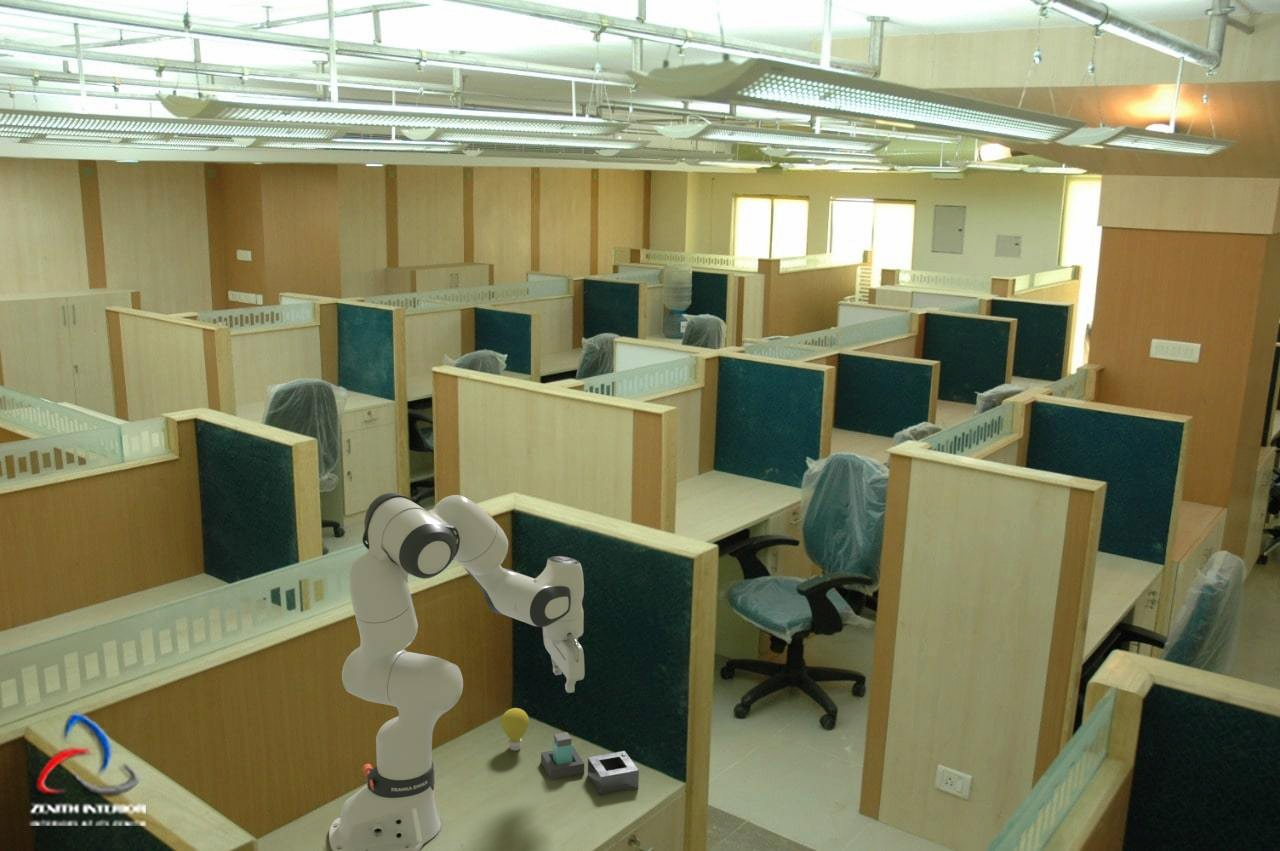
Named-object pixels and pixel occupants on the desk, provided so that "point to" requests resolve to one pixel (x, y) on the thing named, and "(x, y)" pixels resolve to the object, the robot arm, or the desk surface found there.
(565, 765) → the frame
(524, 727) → the light bulb
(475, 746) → the desk surface
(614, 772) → the port
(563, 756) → the plug
